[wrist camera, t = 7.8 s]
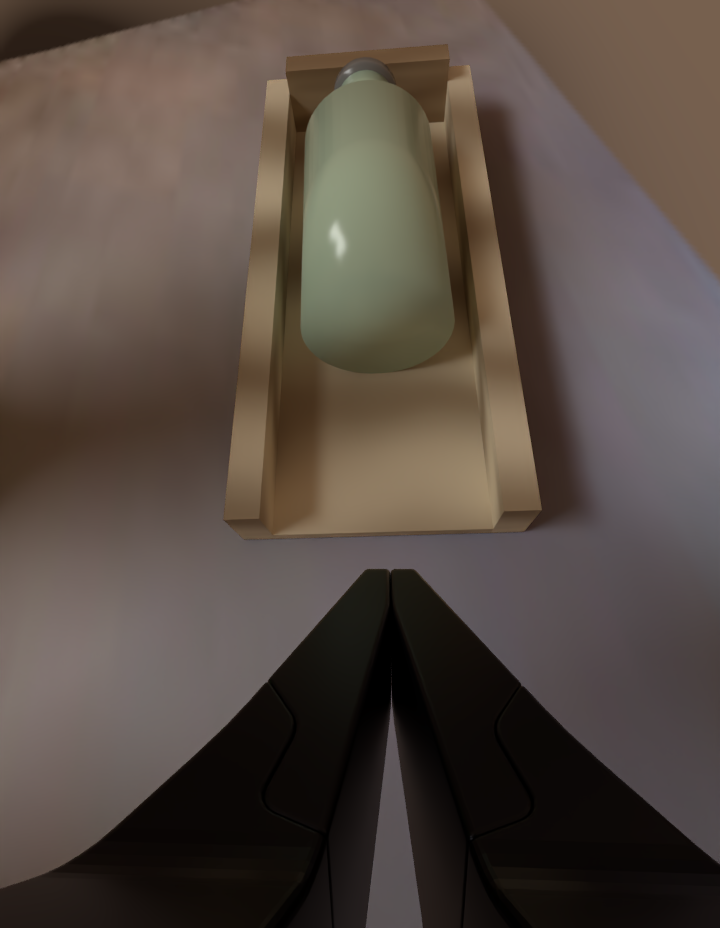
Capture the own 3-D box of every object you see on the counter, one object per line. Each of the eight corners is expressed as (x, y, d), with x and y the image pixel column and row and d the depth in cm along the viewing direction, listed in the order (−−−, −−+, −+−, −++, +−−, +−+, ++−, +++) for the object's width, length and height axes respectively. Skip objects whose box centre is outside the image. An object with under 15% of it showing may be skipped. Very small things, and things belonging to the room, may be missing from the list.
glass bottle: (326, 254, 15) (326, -1, 21) (284, 359, 20) (293, 128, 26) (485, 296, 17) (445, 52, 23) (412, 383, 22) (394, 163, 28)
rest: (523, 531, 19) (550, 499, 15) (243, 539, 19) (213, 510, 16) (463, 115, 28) (472, 42, 25) (277, 128, 29) (263, 58, 26)
